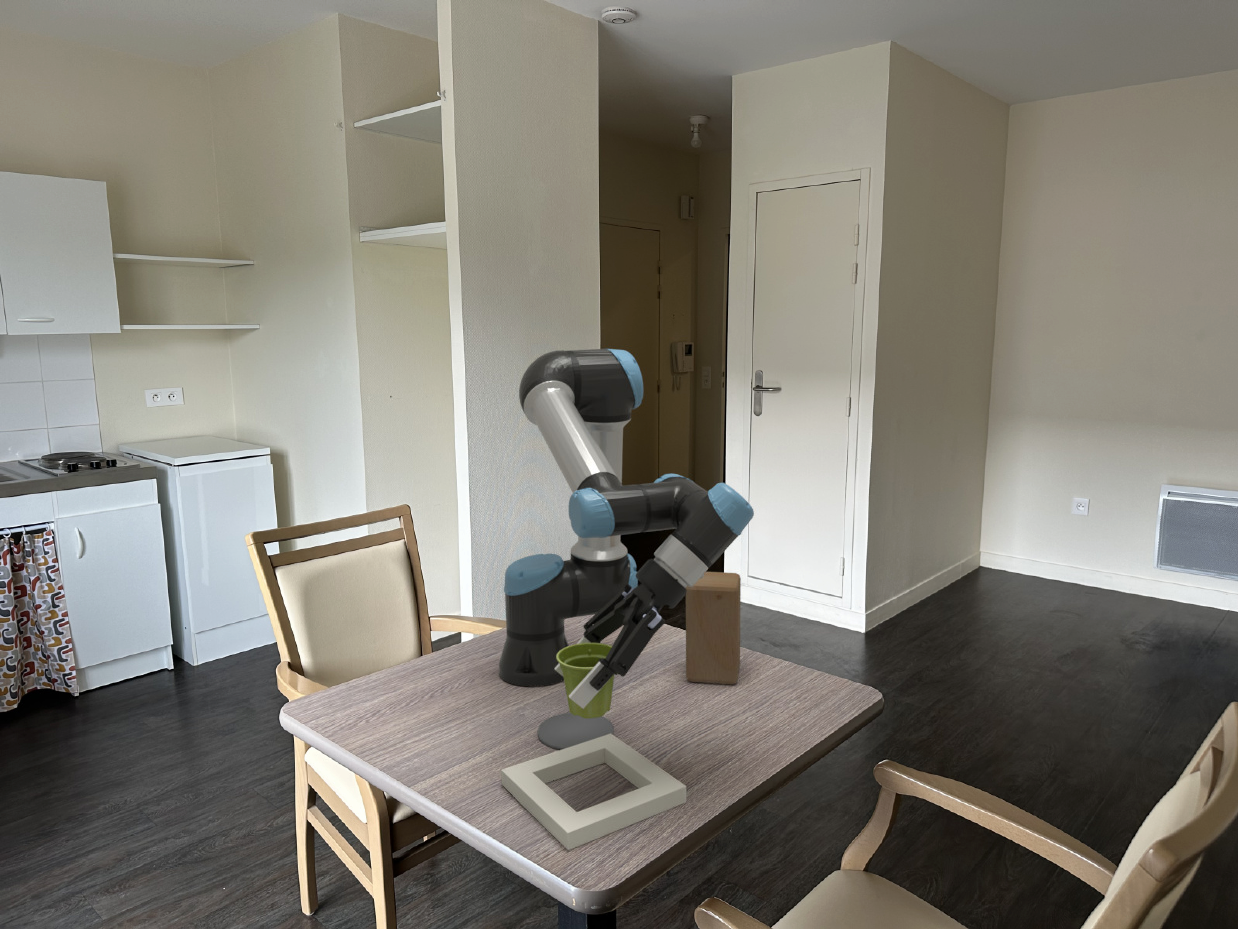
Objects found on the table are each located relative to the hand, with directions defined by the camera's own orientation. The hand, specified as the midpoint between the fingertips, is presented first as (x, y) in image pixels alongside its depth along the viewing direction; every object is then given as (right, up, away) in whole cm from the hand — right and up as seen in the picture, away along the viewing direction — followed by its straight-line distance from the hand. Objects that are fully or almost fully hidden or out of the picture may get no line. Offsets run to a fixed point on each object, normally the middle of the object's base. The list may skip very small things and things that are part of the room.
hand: (568, 688), depth 123 cm
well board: (+3, -16, +3) cm, 17 cm away
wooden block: (+26, -10, +45) cm, 53 cm away
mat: (0, -13, +22) cm, 25 cm away
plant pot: (+3, -4, +2) cm, 5 cm away
